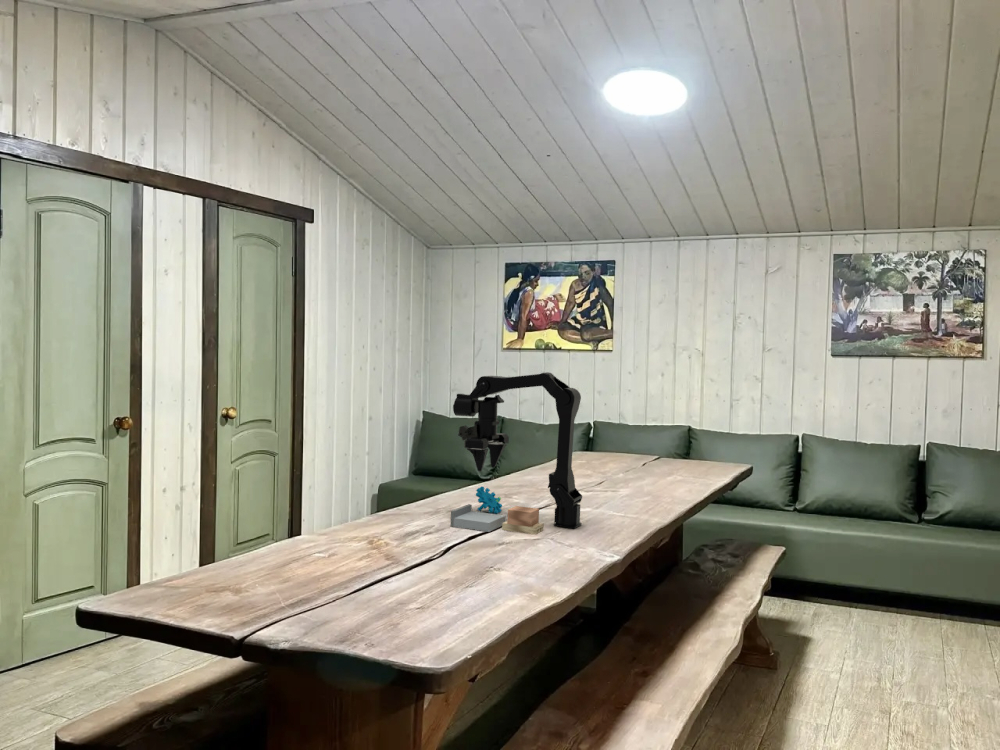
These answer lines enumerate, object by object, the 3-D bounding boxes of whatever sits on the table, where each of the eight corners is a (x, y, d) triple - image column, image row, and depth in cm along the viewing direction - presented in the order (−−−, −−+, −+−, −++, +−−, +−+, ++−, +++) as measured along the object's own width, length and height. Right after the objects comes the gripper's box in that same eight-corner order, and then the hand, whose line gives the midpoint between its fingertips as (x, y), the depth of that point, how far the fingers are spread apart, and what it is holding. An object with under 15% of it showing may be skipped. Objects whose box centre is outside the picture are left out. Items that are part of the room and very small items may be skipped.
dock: (505, 524, 230) (505, 509, 229) (488, 531, 220) (489, 516, 219) (468, 519, 235) (468, 504, 234) (450, 526, 225) (450, 510, 224)
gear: (488, 511, 238) (473, 484, 243) (476, 523, 240) (461, 496, 245) (510, 511, 247) (495, 485, 252) (498, 522, 249) (483, 496, 254)
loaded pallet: (543, 530, 224) (544, 509, 224) (535, 534, 219) (536, 513, 218) (510, 526, 228) (511, 505, 228) (502, 530, 223) (502, 508, 223)
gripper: (477, 414, 251) (476, 463, 252) (448, 418, 234) (448, 471, 235) (509, 415, 246) (508, 466, 247) (482, 420, 229) (481, 474, 230)
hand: (486, 469), depth 240 cm, fingers open, 9 cm apart
